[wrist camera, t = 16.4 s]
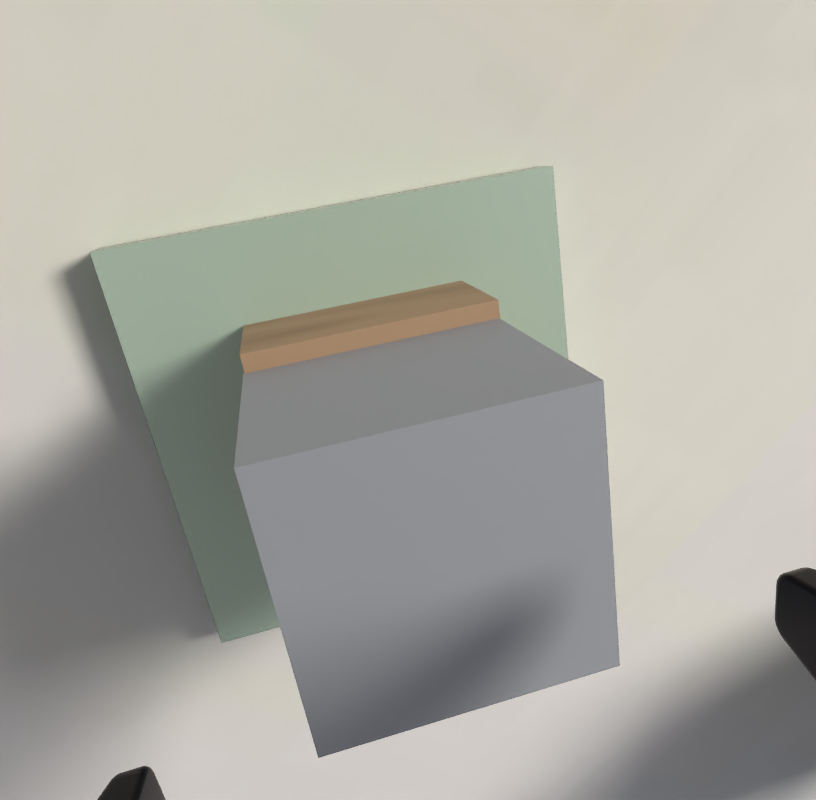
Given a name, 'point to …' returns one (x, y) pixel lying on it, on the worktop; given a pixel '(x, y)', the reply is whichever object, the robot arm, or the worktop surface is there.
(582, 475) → the slate block
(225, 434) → the baseplate
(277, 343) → the walnut block
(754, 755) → the worktop surface
